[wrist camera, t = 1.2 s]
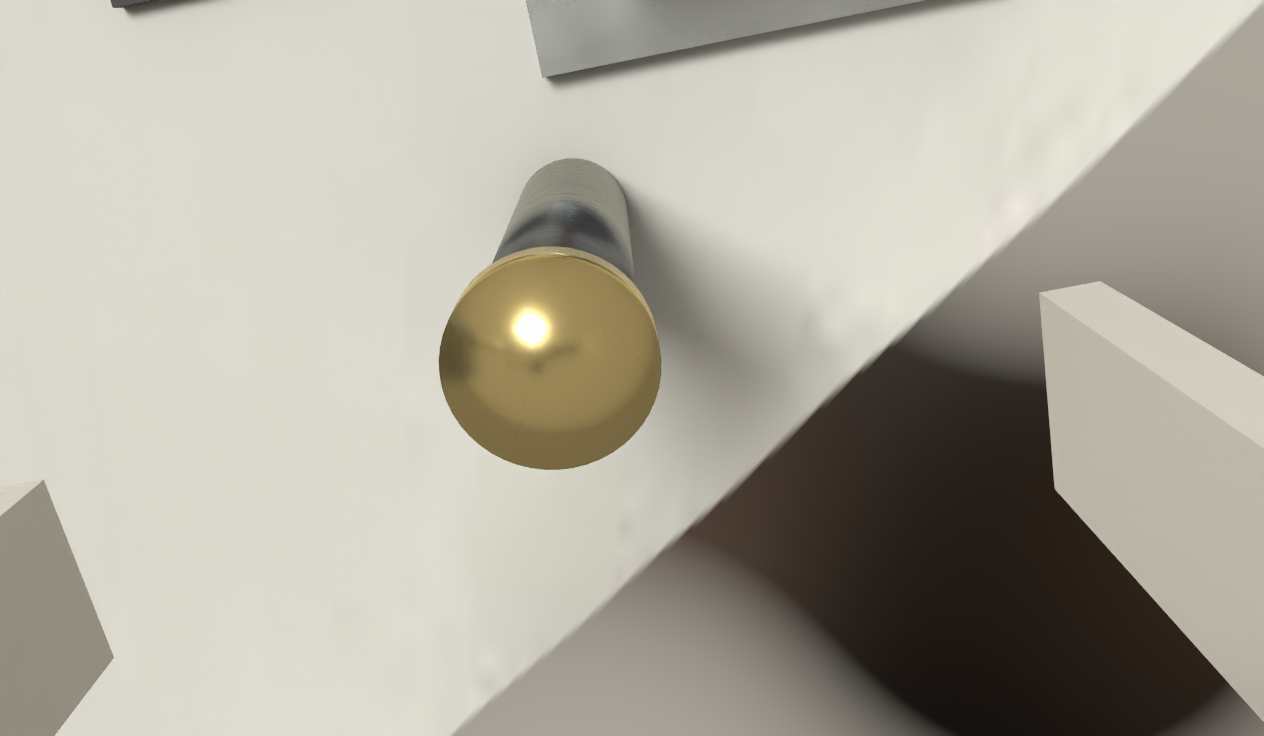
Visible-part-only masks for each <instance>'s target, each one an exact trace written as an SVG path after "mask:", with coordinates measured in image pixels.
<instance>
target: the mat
mask: <svg viewBox="0 0 1264 736" xmlns="http://www.w3.org/2000/svg"><path fill="white" fill-rule="evenodd" d="M151 1H156V0H111V3H112V6H113V8H122V7H127V6H132V5H137V4H142V3H146V2H151Z"/></svg>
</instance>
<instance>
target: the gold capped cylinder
mask: <svg viewBox="0 0 1264 736" xmlns="http://www.w3.org/2000/svg"><path fill="white" fill-rule="evenodd" d="M439 372H440V379H441V384H442V389H443V392H444V395H445V398H446V401H447V403H448V405H449V407H450V409H451V411H452V413H453V415H454V416H455V418H456V419H457V421H458V422H459V424H460V425H461V427H462V428H463V429H464V430H465V431H466V432H467V433H468V435H469V436H470V437H471V438H473V439H474V440H475V441H476V442H477V443H478V444H479V445H481V446H482V447H483V448H485V449H486V450H488V451H489V452H491V453H492V454H494V455H496V456H498V457H500V458H502V459H504V460H506V461H509V462H512V463H514V464H517V465H521V466H525V467H529V468H536V469H545V470H559V469H567V468H574V467H578V466H582V465H586V464H589V463H592V462H594V461H597V460H599V459H601V458H603V457H605V456H607V455H609V454H611V453H612V452H614V451H615V450H617V449H618V448H619V447H621V446H622V445H624V444H625V443H626V442H627V441H628V440H629V439H630V438H631V437H632V436H633V435H634V434H635V433H636V432H637V430H638V429H639V428H640V427H641V426H642V424H643V423H644V421H645V419H646V418H647V416H648V415H649V413H650V411H651V409H652V406H653V404H654V402H655V399H656V396H657V392H658V389H659V383H660V377H661V356H660V348H659V341H658V335H657V329H656V325H655V322H654V318H653V315H652V313H651V311H650V308H649V306H648V304H647V302H646V300H645V299H644V297H643V295H642V294H641V292H640V291H639V290H638V288H637V287H636V286H635V277H634V267H633V258H632V249H631V239H630V230H629V221H628V211H627V203H626V199H625V196H624V193H623V191H622V189H621V187H620V185H619V183H618V182H617V181H616V179H615V178H614V177H613V176H612V175H611V174H610V173H609V172H608V171H607V170H605V169H604V168H602V167H601V166H599V165H597V164H595V163H593V162H590V161H587V160H583V159H562V160H558V161H555V162H552V163H550V164H548V165H546V166H544V167H542V168H541V169H540V170H539V171H537V172H536V173H535V174H534V175H533V176H532V177H531V178H530V180H529V181H528V182H527V184H526V186H525V188H524V190H523V192H522V194H521V197H520V199H519V201H518V204H517V206H516V208H515V211H514V213H513V216H512V218H511V220H510V223H509V225H508V227H507V230H506V232H505V234H504V237H503V239H502V241H501V244H500V246H499V248H498V251H497V253H496V256H495V258H494V260H493V263H492V264H491V265H489V266H488V267H487V268H486V269H484V270H483V271H482V272H480V273H479V274H478V275H477V276H476V277H475V278H474V279H473V280H472V281H471V282H470V284H469V285H468V286H467V288H466V289H465V290H464V292H463V293H462V295H461V297H460V298H459V300H458V302H457V304H456V306H455V308H454V310H453V312H452V314H451V316H450V318H449V320H448V323H447V325H446V328H445V330H444V333H443V337H442V341H441V346H440V355H439Z"/></svg>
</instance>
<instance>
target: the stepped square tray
mask: <svg viewBox="0 0 1264 736" xmlns="http://www.w3.org/2000/svg"><path fill="white" fill-rule="evenodd" d="M920 1H925V0H526V3H527V7H528V12H529V17H530V22H531V26H532V31H533V36H534V40H535V45H536V50H537V54H538V59H539V64H540V69H541V73H542V78H543V77H548V76H553V75H558V74H563V73H568V72H573V71H578V70H583V69H588V68H593V67H598V66H603V65H608V64H612V63H617V62H622V61H627V60H632V59H637V58H642V57H647V56H652V55H657V54H662V53H667V52H672V51H677V50H682V49H687V48H692V47H697V46H702V45H707V44H712V43H717V42H721V41H726V40H731V39H736V38H741V37H746V36H751V35H756V34H761V33H766V32H771V31H776V30H781V29H786V28H791V27H796V26H801V25H806V24H811V23H816V22H821V21H826V20H830V19H835V18H840V17H845V16H850V15H855V14H860V13H865V12H870V11H875V10H880V9H885V8H890V7H895V6H900V5H905V4H910V3H915V2H920Z"/></svg>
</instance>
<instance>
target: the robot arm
mask: <svg viewBox="0 0 1264 736" xmlns="http://www.w3.org/2000/svg"><path fill="white" fill-rule="evenodd" d="M1039 296H1040V308H1041V321H1042V334H1043V346H1044V357H1045V358H1044V359H1045V372H1046V384H1047V396H1048V410H1049V422H1050V434H1051V446H1052V460H1053V473H1054V485H1055V490H1057V492H1058V493H1059V494H1060V495H1061V496H1062V497H1063V498H1064V500H1065V501H1066V502H1067V503H1068V504H1069V505H1070V506H1071V508H1072V509H1073V510H1074V511H1075V512H1076V513H1077V514H1078V515H1079V516H1080V518H1081V519H1082V520H1083V521H1084V522H1085V523H1086V524H1087V525H1088V527H1089V528H1090V529H1091V530H1092V531H1093V532H1094V533H1095V534H1096V535H1097V537H1098V538H1099V539H1100V540H1101V541H1102V542H1103V543H1104V544H1105V545H1106V547H1107V548H1108V549H1109V550H1110V551H1111V552H1112V553H1113V554H1114V555H1115V556H1116V558H1117V559H1118V560H1119V561H1120V562H1121V563H1122V564H1123V565H1124V567H1125V568H1126V569H1127V570H1128V571H1129V572H1130V573H1131V574H1132V576H1133V577H1134V578H1135V579H1136V580H1137V581H1138V582H1139V583H1140V585H1141V586H1142V587H1143V588H1144V589H1145V590H1146V591H1147V592H1148V593H1149V594H1150V596H1151V597H1152V598H1153V599H1154V600H1155V601H1156V602H1157V603H1158V605H1159V606H1160V607H1161V608H1162V609H1163V610H1164V611H1165V612H1166V613H1167V615H1168V616H1169V617H1170V618H1171V619H1172V620H1173V621H1174V622H1175V624H1176V625H1178V627H1179V628H1180V629H1181V630H1182V631H1183V632H1184V633H1185V635H1186V636H1187V637H1188V638H1189V639H1190V640H1191V641H1192V642H1193V644H1194V645H1195V646H1196V647H1197V648H1198V649H1199V650H1200V651H1201V653H1202V654H1203V655H1204V656H1205V657H1206V658H1207V659H1208V660H1209V662H1210V663H1212V665H1213V666H1214V667H1215V668H1216V669H1217V670H1218V672H1219V673H1220V674H1221V675H1222V676H1223V677H1224V678H1225V679H1226V681H1227V682H1228V683H1229V684H1230V685H1231V686H1232V687H1233V688H1234V689H1235V691H1236V692H1237V693H1238V694H1239V695H1240V696H1241V697H1242V698H1243V699H1244V701H1245V702H1246V703H1247V704H1248V705H1249V706H1250V707H1251V708H1252V710H1253V711H1254V712H1255V713H1256V714H1257V715H1258V716H1259V717H1260V718H1261V720H1262V721H1263V722H1264V376H1262V375H1260V374H1258V373H1257V372H1255V371H1253V370H1252V369H1250V368H1248V367H1246V366H1245V365H1243V364H1241V363H1240V362H1238V361H1236V360H1234V359H1232V358H1231V357H1229V356H1228V355H1226V354H1224V353H1222V352H1221V351H1219V350H1217V349H1216V348H1214V347H1212V346H1210V345H1209V344H1207V343H1205V342H1203V341H1202V340H1200V339H1198V338H1197V337H1195V336H1193V335H1191V334H1190V333H1188V332H1186V331H1185V330H1183V329H1181V328H1179V327H1178V326H1176V325H1174V324H1173V323H1171V322H1169V321H1167V320H1166V319H1164V318H1162V317H1161V316H1159V315H1157V314H1155V313H1154V312H1152V311H1150V310H1149V309H1147V308H1145V307H1143V306H1142V305H1140V304H1138V303H1137V302H1135V301H1133V300H1131V299H1130V298H1128V297H1126V296H1124V295H1123V294H1121V293H1119V292H1118V291H1116V290H1114V289H1112V288H1111V287H1109V286H1107V285H1106V284H1104V283H1102V282H1100V281H1099V282H1094V283H1089V284H1083V285H1078V286H1072V287H1067V288H1062V289H1056V290H1051V291H1046V292H1040V293H1039ZM113 658H114V657H113V654H112V652H111V649H110V647H109V644H108V642H107V639H106V636H105V634H104V631H103V629H102V626H101V624H100V621H99V619H98V616H97V614H96V611H95V609H94V606H93V604H92V601H91V599H90V596H89V594H88V591H87V588H86V586H85V583H84V581H83V578H82V576H81V573H80V571H79V568H78V566H77V563H76V561H75V558H74V556H73V553H72V551H71V548H70V545H69V543H68V540H67V538H66V535H65V533H64V530H63V528H62V525H61V523H60V520H59V518H58V515H57V513H56V510H55V508H54V505H53V503H52V500H51V497H50V495H49V492H48V490H47V487H46V485H45V482H44V480H40V481H35V482H29V483H24V484H19V485H13V486H8V487H3V488H0V736H54V735H55V734H56V733H57V731H58V730H59V729H60V727H61V726H62V725H63V724H64V722H65V721H66V720H67V718H68V717H69V716H70V714H71V713H72V712H73V710H74V709H75V708H76V707H77V705H78V704H79V703H80V701H81V700H82V699H83V697H84V696H85V695H86V693H87V692H88V691H89V689H90V688H91V687H92V686H93V684H94V683H95V682H96V680H97V679H98V678H99V676H100V675H101V674H102V672H103V671H104V670H105V669H106V667H107V666H108V665H109V663H110V662H111V661H112V659H113Z"/></svg>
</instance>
